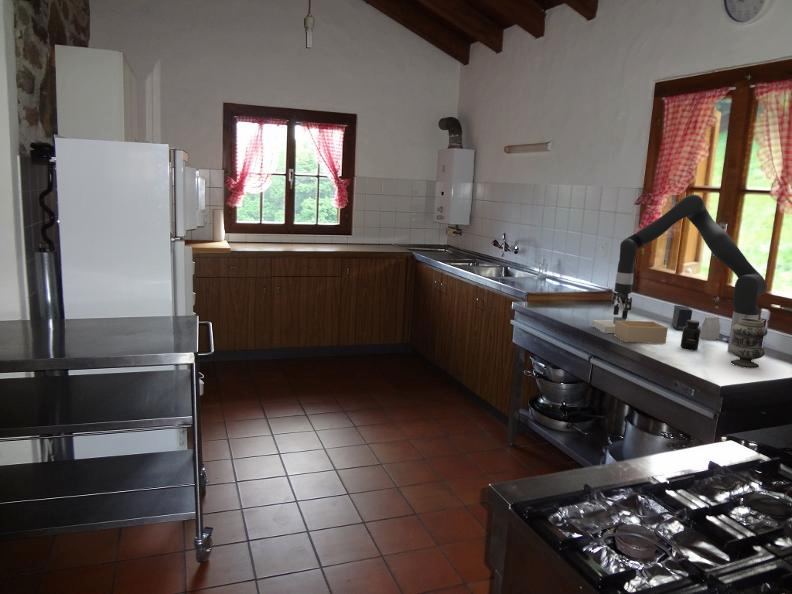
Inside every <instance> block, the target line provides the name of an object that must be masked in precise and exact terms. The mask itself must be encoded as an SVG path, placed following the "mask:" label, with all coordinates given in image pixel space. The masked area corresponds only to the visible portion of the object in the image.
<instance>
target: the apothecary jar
mask: <svg viewBox="0 0 792 594" xmlns="http://www.w3.org/2000/svg"><path fill="white" fill-rule="evenodd" d="M733 330H734V332H735V339H734V344H732V345H731V346H730V347H729V350H730V352H731V353H730V354H732V355H733V356H735V357H736V358H735V359H732V360H731V361H730V364H731V363H732V364H731V365H733V364H734V366H736V365H737V366H736V367H739V366H740V368H744V367H746V369H759V368H760V365H759V363H756V362H754V361H753V360H758V359H760V358H763V357H764V356H765V350H764V348H763V341H764V340H763V339H764V337H765V336H767V334H768V328H766V326H765V322H764V320H761V319H758V320H757V319H751V318H739V321H738V323H736V324H735V325H734V326H733Z"/></svg>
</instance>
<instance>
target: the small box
mask: <svg viewBox="0 0 792 594" xmlns="http://www.w3.org/2000/svg"><path fill="white" fill-rule="evenodd" d="M692 315H693V309H691V308H689V307H688V306H685V305H684V306H683V305H677V304H675V305H674V307H673V315H672V320H671V324H670V325H671V327H672V328H673V329H674V330H675V331H683V328H684V327H685V326H687V325H686V323H687V320H692Z"/></svg>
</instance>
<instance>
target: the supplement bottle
mask: <svg viewBox="0 0 792 594" xmlns="http://www.w3.org/2000/svg"><path fill="white" fill-rule="evenodd" d="M686 325H687V326H685V327H684V328H683V330H682V333H681V334H682V335H681V340H680V348H681V349H683V350H687V351H697V350H698V349H699V345H700V339H701V338H700V335H701V328H700V321H698V320H695V319H691V320H687V323H686Z"/></svg>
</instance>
